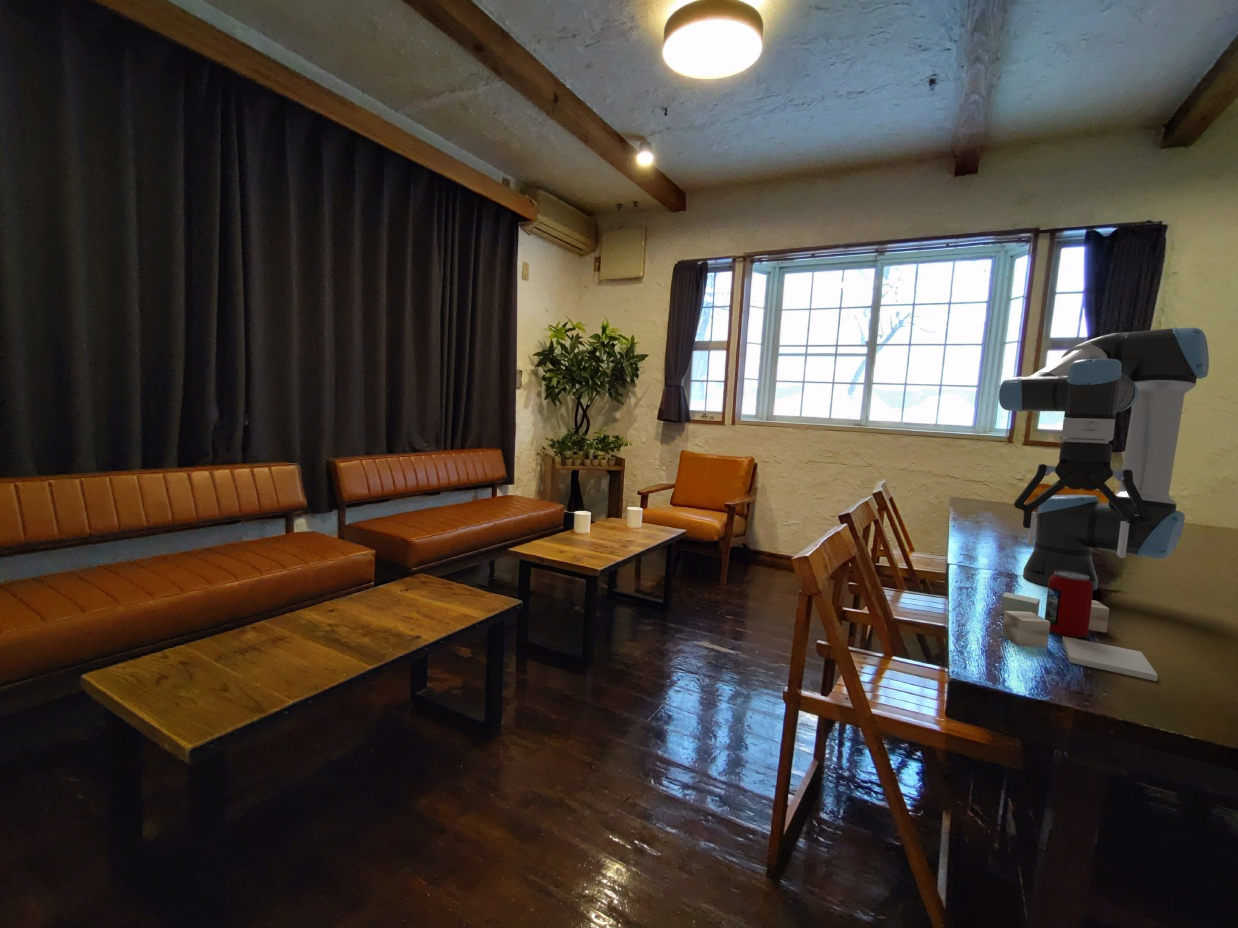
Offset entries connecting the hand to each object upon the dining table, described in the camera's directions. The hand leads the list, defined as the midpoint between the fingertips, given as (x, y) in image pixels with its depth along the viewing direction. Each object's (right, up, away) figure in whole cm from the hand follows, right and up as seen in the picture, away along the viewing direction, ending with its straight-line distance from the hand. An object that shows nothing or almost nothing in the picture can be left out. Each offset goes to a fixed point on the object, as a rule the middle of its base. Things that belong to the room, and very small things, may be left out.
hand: (1074, 550), depth 105 cm
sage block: (-2, -16, +11) cm, 20 cm away
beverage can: (0, -17, +2) cm, 17 cm away
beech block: (+7, -17, +6) cm, 19 cm away
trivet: (-3, -18, -10) cm, 20 cm away
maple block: (-12, -17, -3) cm, 21 cm away
